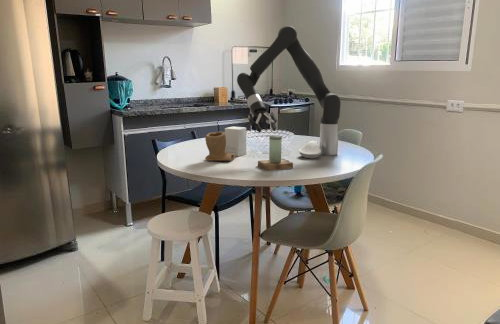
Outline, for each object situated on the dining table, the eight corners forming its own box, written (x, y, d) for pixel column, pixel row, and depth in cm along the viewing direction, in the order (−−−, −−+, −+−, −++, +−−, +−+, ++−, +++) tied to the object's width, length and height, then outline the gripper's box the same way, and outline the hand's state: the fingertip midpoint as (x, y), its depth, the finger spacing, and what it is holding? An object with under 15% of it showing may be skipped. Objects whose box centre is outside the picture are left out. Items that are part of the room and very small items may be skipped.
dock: (283, 163, 190) (283, 158, 189) (292, 167, 181) (293, 162, 181) (257, 165, 185) (257, 160, 184) (266, 170, 176) (266, 165, 175)
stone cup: (202, 163, 190) (201, 133, 186) (207, 157, 201) (207, 129, 198) (232, 164, 188) (232, 134, 185) (236, 158, 200) (235, 130, 196)
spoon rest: (319, 160, 197) (319, 147, 195) (296, 159, 200) (297, 145, 198) (324, 151, 219) (325, 139, 217) (304, 150, 222) (304, 138, 220)
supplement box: (247, 153, 211) (247, 127, 208) (238, 156, 204) (238, 129, 200) (233, 152, 216) (233, 125, 212) (224, 155, 208) (224, 128, 205)
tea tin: (277, 159, 186) (278, 135, 183) (283, 162, 181) (284, 137, 178) (267, 160, 184) (267, 135, 181) (272, 163, 179) (272, 137, 176)
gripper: (246, 101, 187) (257, 127, 180) (271, 100, 193) (282, 125, 186) (241, 110, 193) (252, 136, 186) (265, 109, 199) (276, 134, 192)
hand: (267, 130), depth 186 cm, fingers open, 8 cm apart
